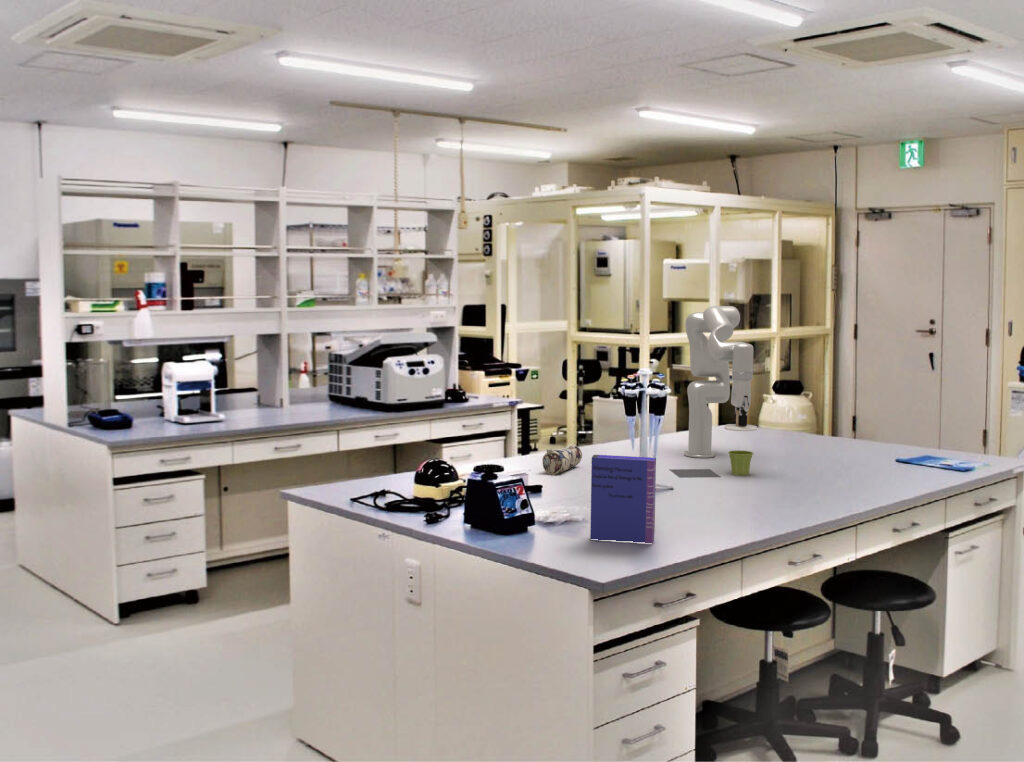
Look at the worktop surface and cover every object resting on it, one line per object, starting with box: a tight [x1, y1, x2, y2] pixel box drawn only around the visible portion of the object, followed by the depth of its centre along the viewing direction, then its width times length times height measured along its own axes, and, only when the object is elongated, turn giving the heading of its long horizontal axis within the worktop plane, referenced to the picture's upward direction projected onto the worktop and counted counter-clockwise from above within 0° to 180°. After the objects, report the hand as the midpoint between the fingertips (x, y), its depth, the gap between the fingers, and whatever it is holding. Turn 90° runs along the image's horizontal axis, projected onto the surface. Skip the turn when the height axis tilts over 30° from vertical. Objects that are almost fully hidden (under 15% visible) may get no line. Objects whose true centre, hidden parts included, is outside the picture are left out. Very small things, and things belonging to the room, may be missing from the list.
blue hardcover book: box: [589, 454, 657, 544], centre depth 288 cm, size 17×5×24 cm, turn 75°
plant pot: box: [727, 450, 754, 476], centre depth 388 cm, size 9×9×9 cm
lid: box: [724, 410, 758, 432], centre depth 386 cm, size 12×12×7 cm
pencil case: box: [541, 443, 583, 476], centre depth 394 cm, size 22×8×10 cm, turn 155°
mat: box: [668, 468, 722, 479], centre depth 388 cm, size 16×16×1 cm
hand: (740, 424), depth 386 cm, fingers closed on lid, 3 cm apart
